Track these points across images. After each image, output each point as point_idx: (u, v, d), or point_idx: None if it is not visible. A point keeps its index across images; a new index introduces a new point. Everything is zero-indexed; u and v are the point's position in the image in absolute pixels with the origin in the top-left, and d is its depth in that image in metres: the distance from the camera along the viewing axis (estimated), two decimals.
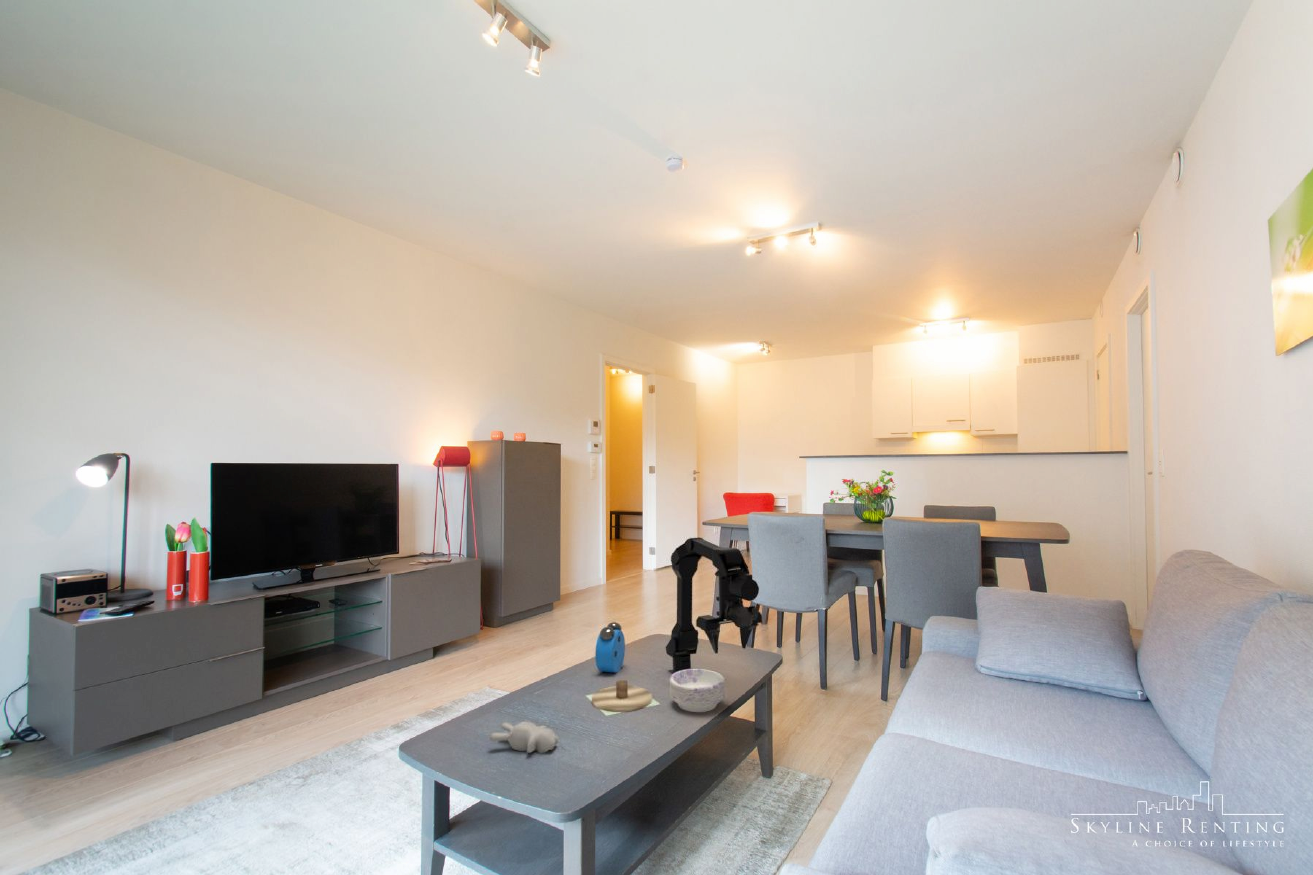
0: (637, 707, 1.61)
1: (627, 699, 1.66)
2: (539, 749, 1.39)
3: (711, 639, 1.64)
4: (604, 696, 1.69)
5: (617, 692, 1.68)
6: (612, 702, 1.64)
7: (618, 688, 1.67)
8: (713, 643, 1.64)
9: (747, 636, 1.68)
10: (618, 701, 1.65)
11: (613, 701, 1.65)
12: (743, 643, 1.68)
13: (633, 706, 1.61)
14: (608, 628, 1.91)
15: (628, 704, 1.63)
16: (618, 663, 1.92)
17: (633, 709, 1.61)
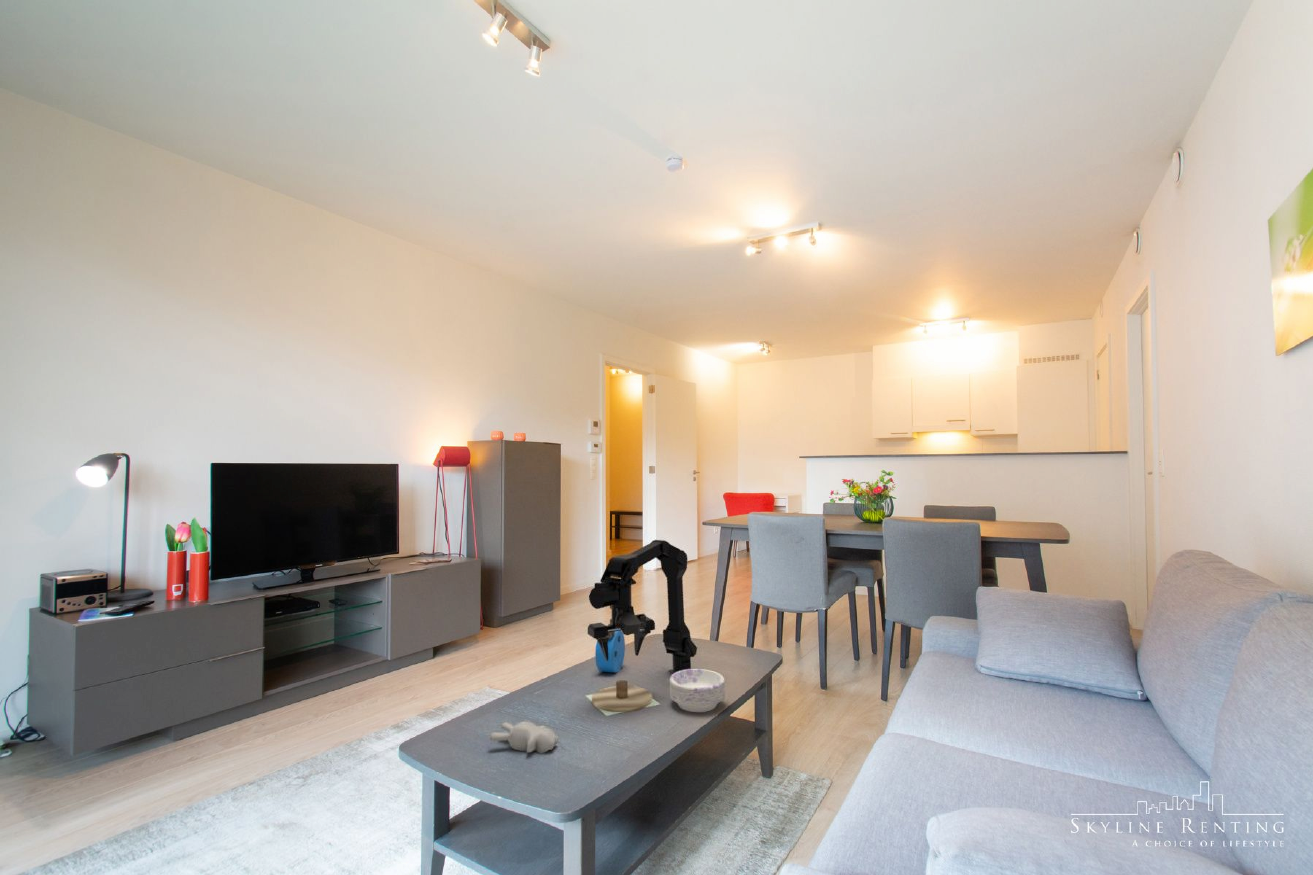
0: (637, 707, 1.61)
1: (627, 699, 1.66)
2: (539, 749, 1.39)
3: (602, 646, 1.67)
4: (604, 696, 1.69)
5: (617, 692, 1.68)
6: (612, 702, 1.64)
7: (618, 688, 1.67)
8: (603, 650, 1.66)
9: (639, 643, 1.70)
10: (618, 701, 1.65)
11: (613, 701, 1.65)
12: (636, 650, 1.71)
13: (633, 706, 1.61)
14: None
15: (628, 704, 1.63)
16: (618, 663, 1.92)
17: (633, 709, 1.61)
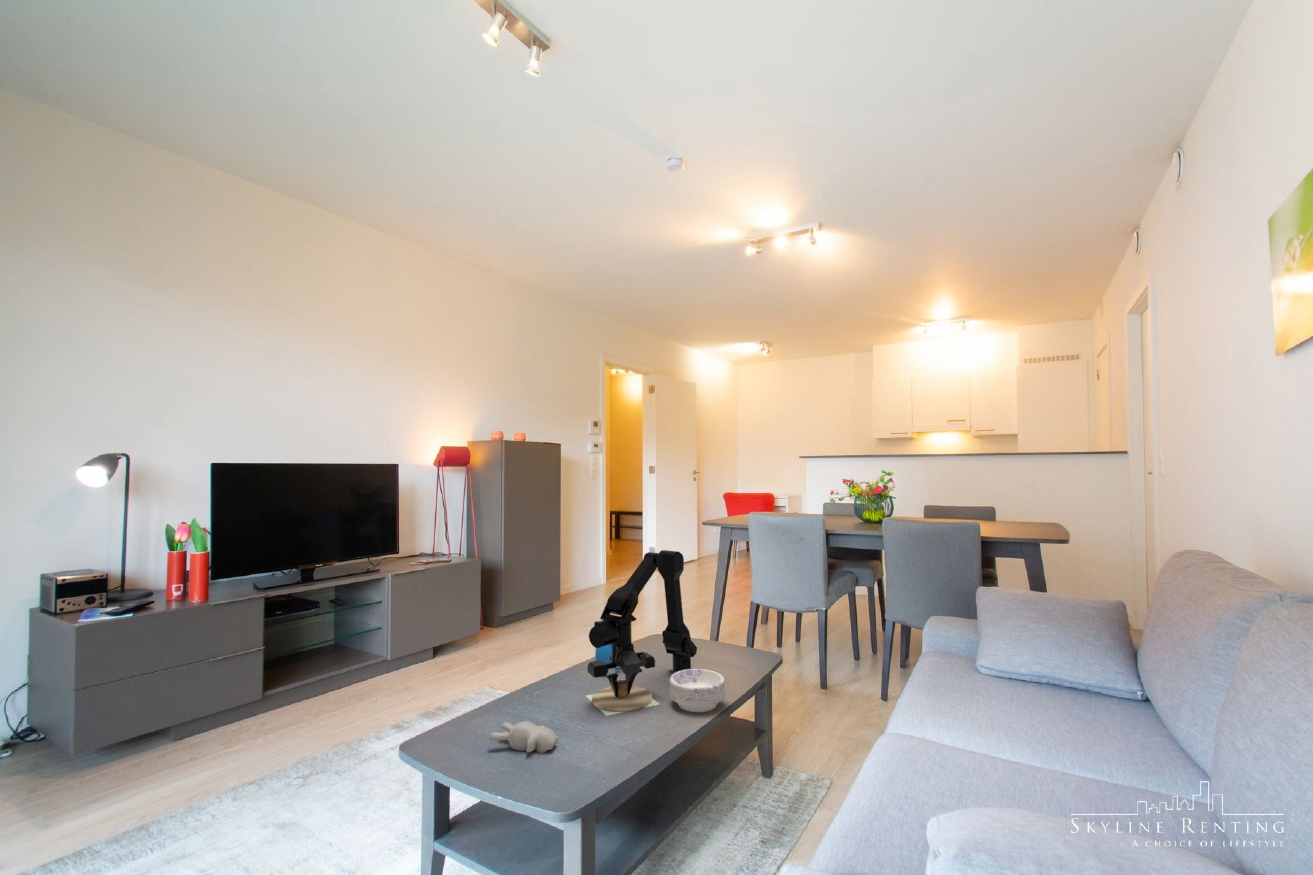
0: (637, 707, 1.61)
1: (627, 699, 1.66)
2: (539, 749, 1.39)
3: (611, 682, 1.68)
4: (604, 696, 1.69)
5: None
6: (612, 702, 1.64)
7: (618, 688, 1.67)
8: (613, 687, 1.67)
9: (631, 682, 1.69)
10: (618, 701, 1.65)
11: (613, 701, 1.65)
12: None
13: (633, 706, 1.61)
14: None
15: (628, 704, 1.63)
16: None
17: (633, 709, 1.61)
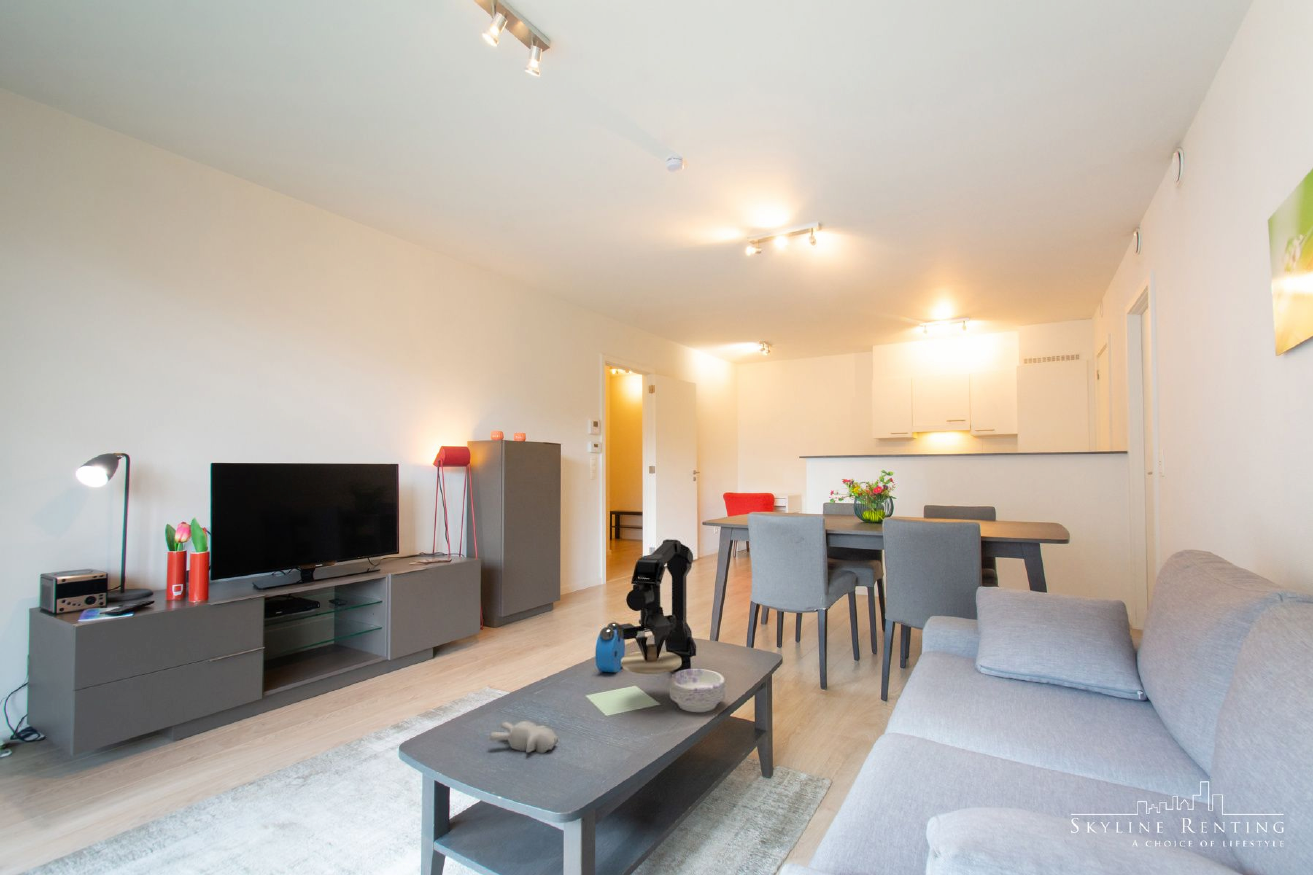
0: (667, 669, 1.60)
1: (657, 662, 1.65)
2: (538, 749, 1.39)
3: (640, 645, 1.67)
4: (633, 659, 1.68)
5: None
6: (642, 665, 1.63)
7: (647, 651, 1.66)
8: (642, 650, 1.66)
9: (660, 646, 1.68)
10: (648, 664, 1.64)
11: (642, 664, 1.64)
12: None
13: (663, 668, 1.60)
14: (608, 628, 1.91)
15: (658, 666, 1.62)
16: (618, 663, 1.92)
17: (663, 671, 1.60)
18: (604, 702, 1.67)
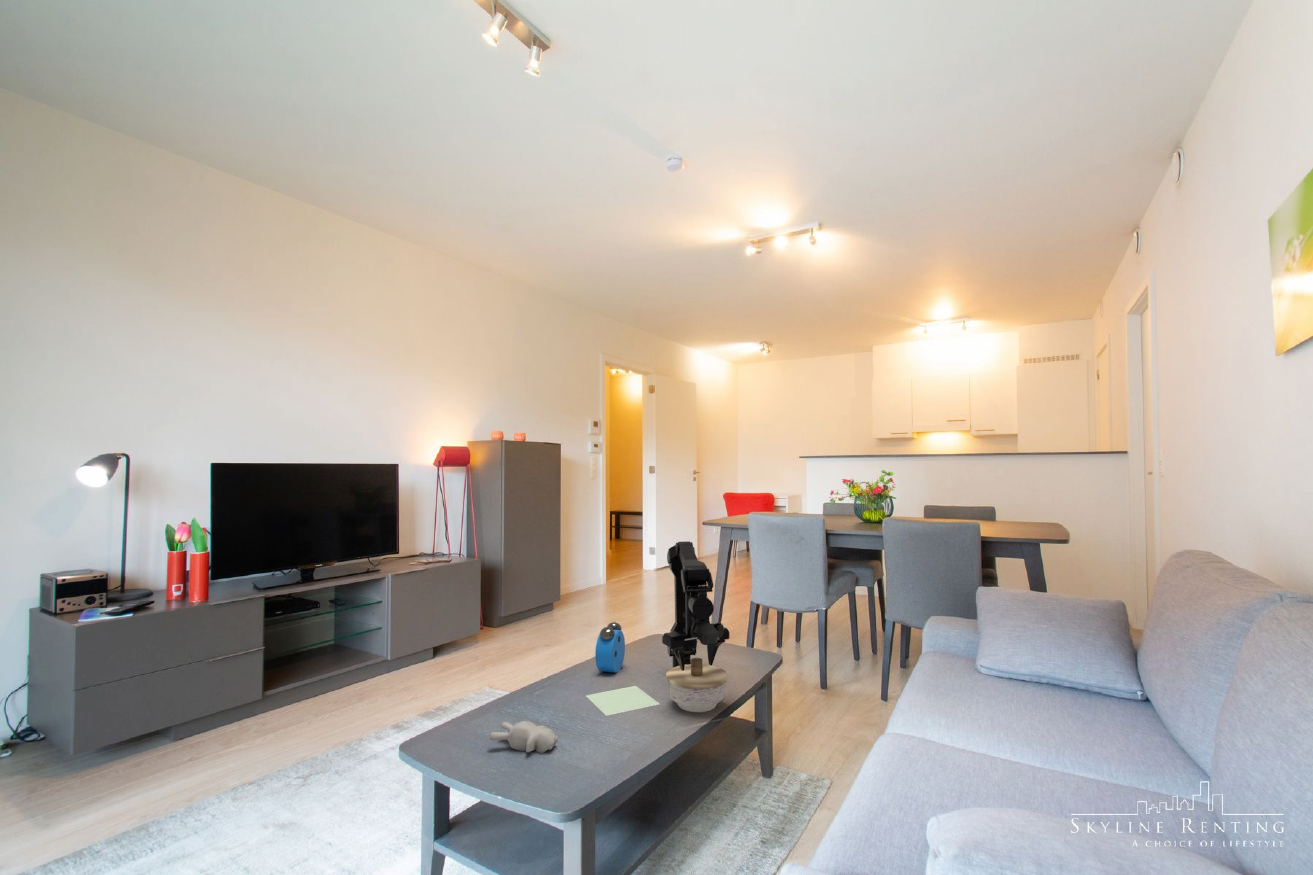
0: (716, 684, 1.58)
1: (703, 676, 1.63)
2: (538, 749, 1.39)
3: (677, 656, 1.63)
4: (678, 674, 1.65)
5: (692, 669, 1.64)
6: (688, 679, 1.61)
7: (693, 665, 1.64)
8: (679, 660, 1.62)
9: (714, 653, 1.66)
10: (694, 678, 1.61)
11: (689, 678, 1.61)
12: (710, 660, 1.67)
13: (711, 683, 1.58)
14: (608, 628, 1.91)
15: (705, 681, 1.59)
16: (618, 663, 1.92)
17: (712, 686, 1.57)
18: (604, 702, 1.67)
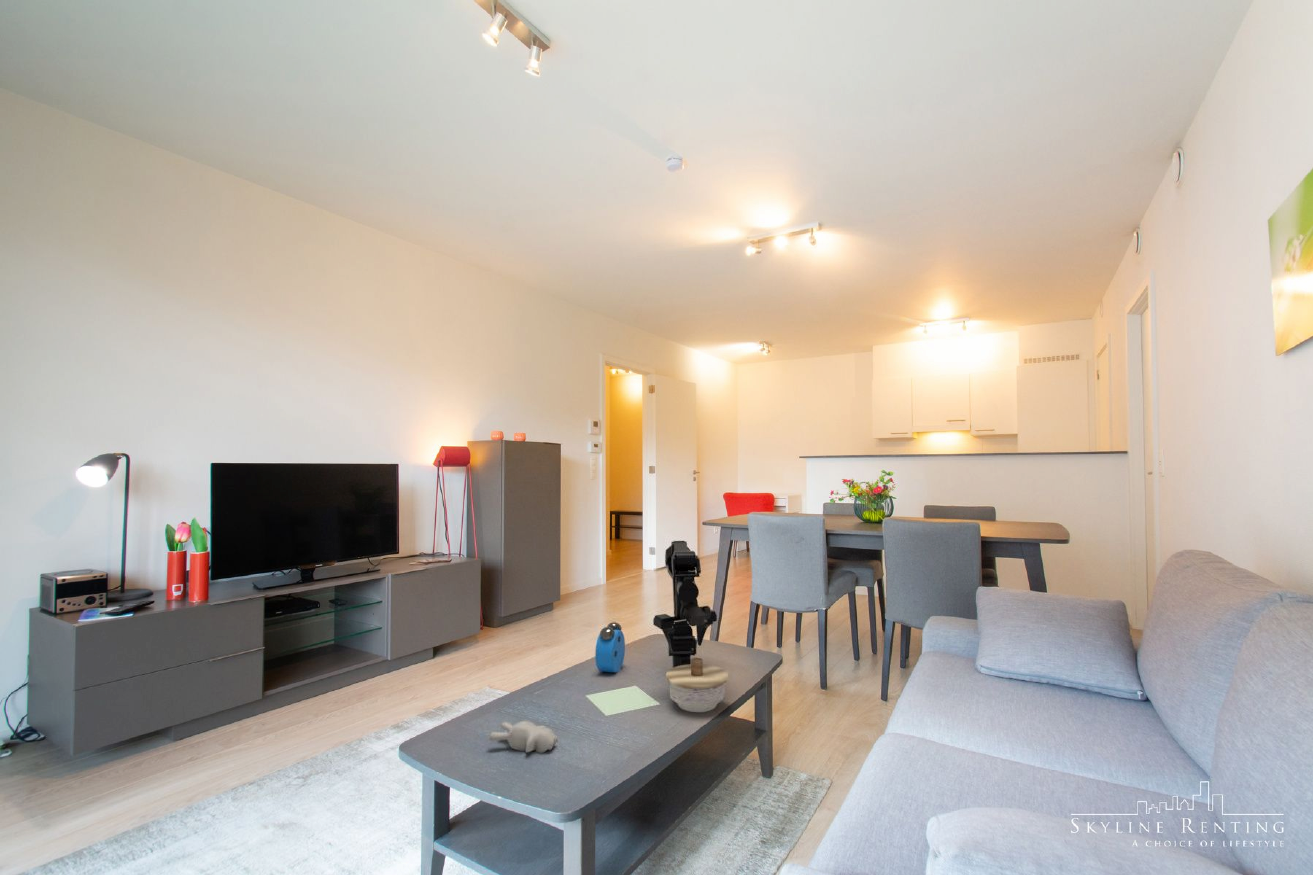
0: (715, 684, 1.58)
1: (703, 676, 1.63)
2: (538, 749, 1.39)
3: (667, 636, 1.74)
4: (678, 674, 1.65)
5: (692, 669, 1.64)
6: (688, 679, 1.61)
7: (693, 665, 1.64)
8: (669, 640, 1.73)
9: (702, 634, 1.77)
10: (694, 678, 1.61)
11: (689, 678, 1.61)
12: (699, 640, 1.78)
13: (711, 683, 1.58)
14: (608, 628, 1.91)
15: (705, 681, 1.59)
16: (618, 663, 1.92)
17: (711, 686, 1.57)
18: (604, 702, 1.67)
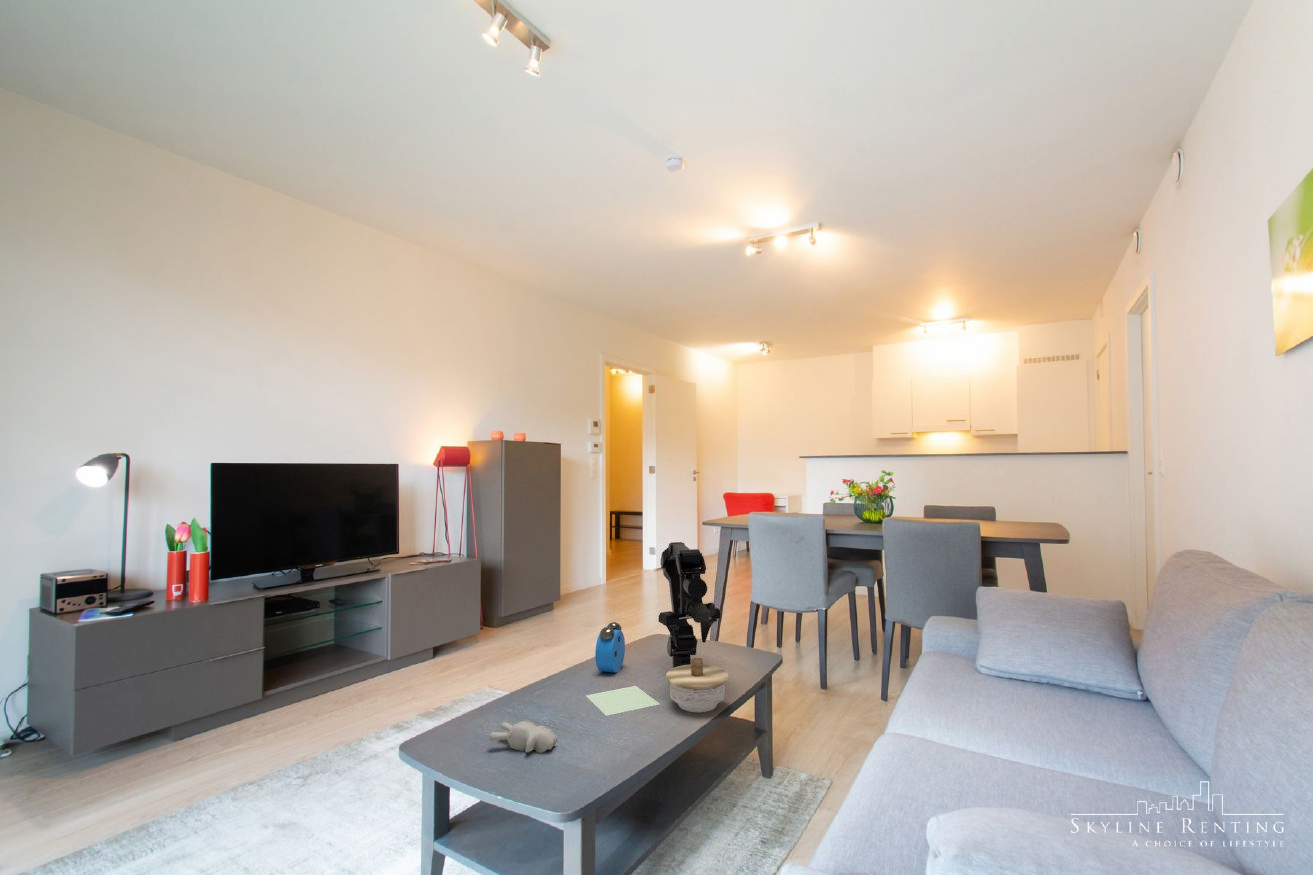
0: (715, 684, 1.58)
1: (703, 676, 1.63)
2: (538, 749, 1.39)
3: (672, 633, 1.76)
4: (679, 674, 1.65)
5: (692, 670, 1.64)
6: (688, 679, 1.61)
7: (693, 665, 1.64)
8: (674, 637, 1.75)
9: (707, 631, 1.80)
10: (694, 678, 1.61)
11: (689, 678, 1.61)
12: (703, 637, 1.80)
13: (711, 683, 1.57)
14: (608, 628, 1.91)
15: (705, 681, 1.59)
16: (618, 663, 1.92)
17: (711, 686, 1.57)
18: (604, 702, 1.67)
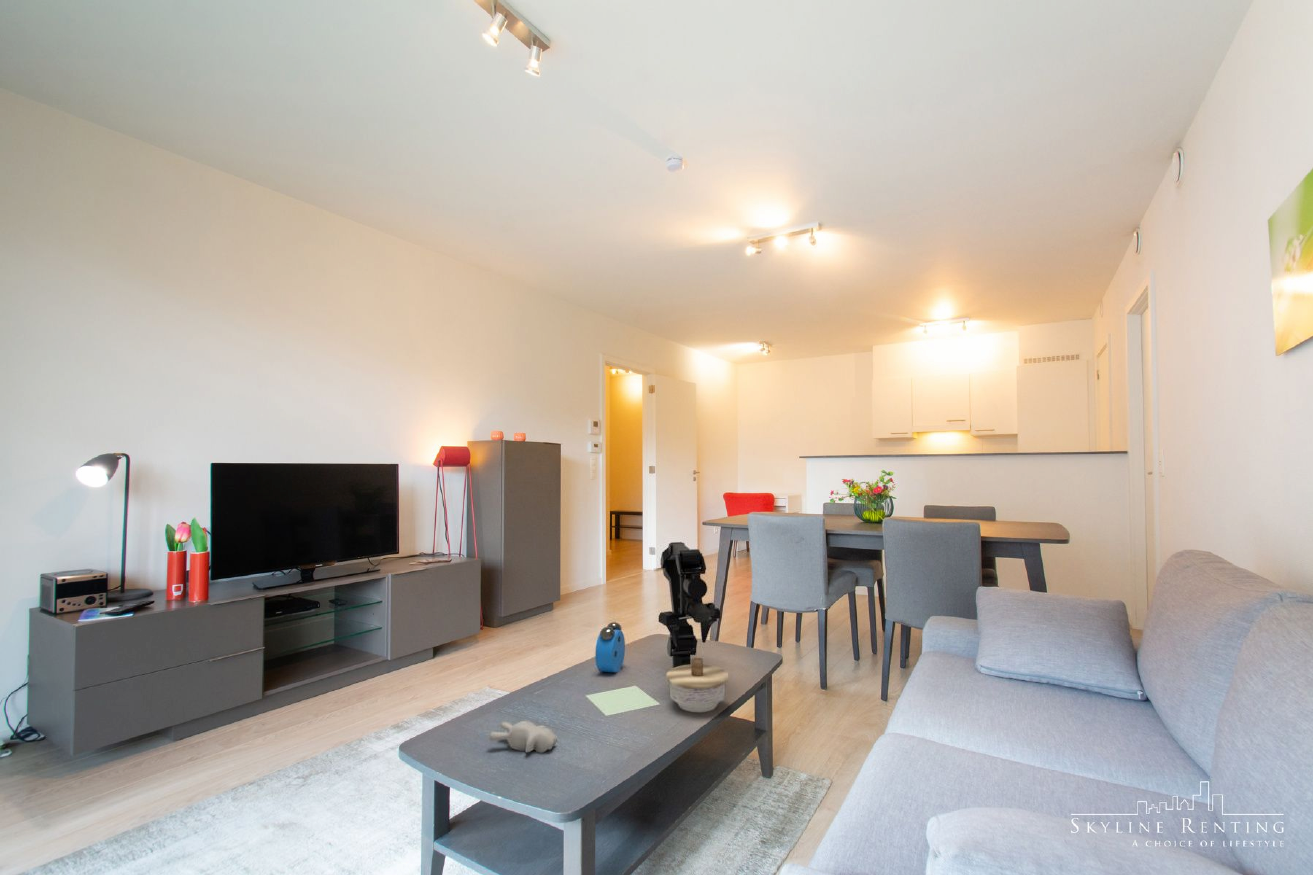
0: (716, 684, 1.58)
1: (703, 676, 1.63)
2: (538, 749, 1.39)
3: (672, 633, 1.76)
4: (679, 674, 1.65)
5: (693, 670, 1.64)
6: (689, 679, 1.61)
7: (694, 665, 1.64)
8: (674, 637, 1.75)
9: (707, 631, 1.80)
10: (695, 678, 1.61)
11: (689, 678, 1.61)
12: (703, 637, 1.80)
13: (711, 683, 1.57)
14: (608, 628, 1.91)
15: (706, 681, 1.59)
16: (618, 663, 1.92)
17: (712, 686, 1.57)
18: (604, 702, 1.67)
